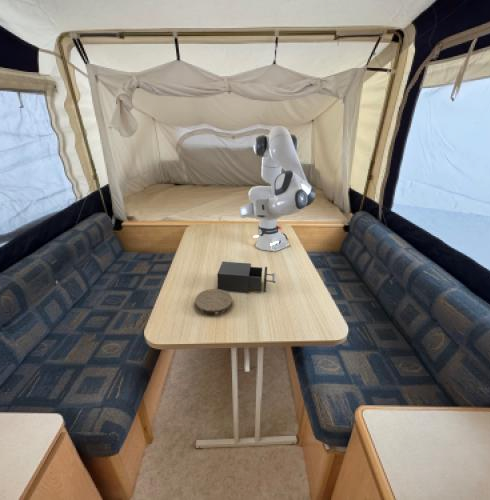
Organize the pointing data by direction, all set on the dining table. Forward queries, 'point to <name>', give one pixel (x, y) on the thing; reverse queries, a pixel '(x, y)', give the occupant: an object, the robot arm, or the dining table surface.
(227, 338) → the dining table surface
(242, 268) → the cabinet
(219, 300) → the round wood slice
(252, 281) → the drawer
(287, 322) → the dining table surface
